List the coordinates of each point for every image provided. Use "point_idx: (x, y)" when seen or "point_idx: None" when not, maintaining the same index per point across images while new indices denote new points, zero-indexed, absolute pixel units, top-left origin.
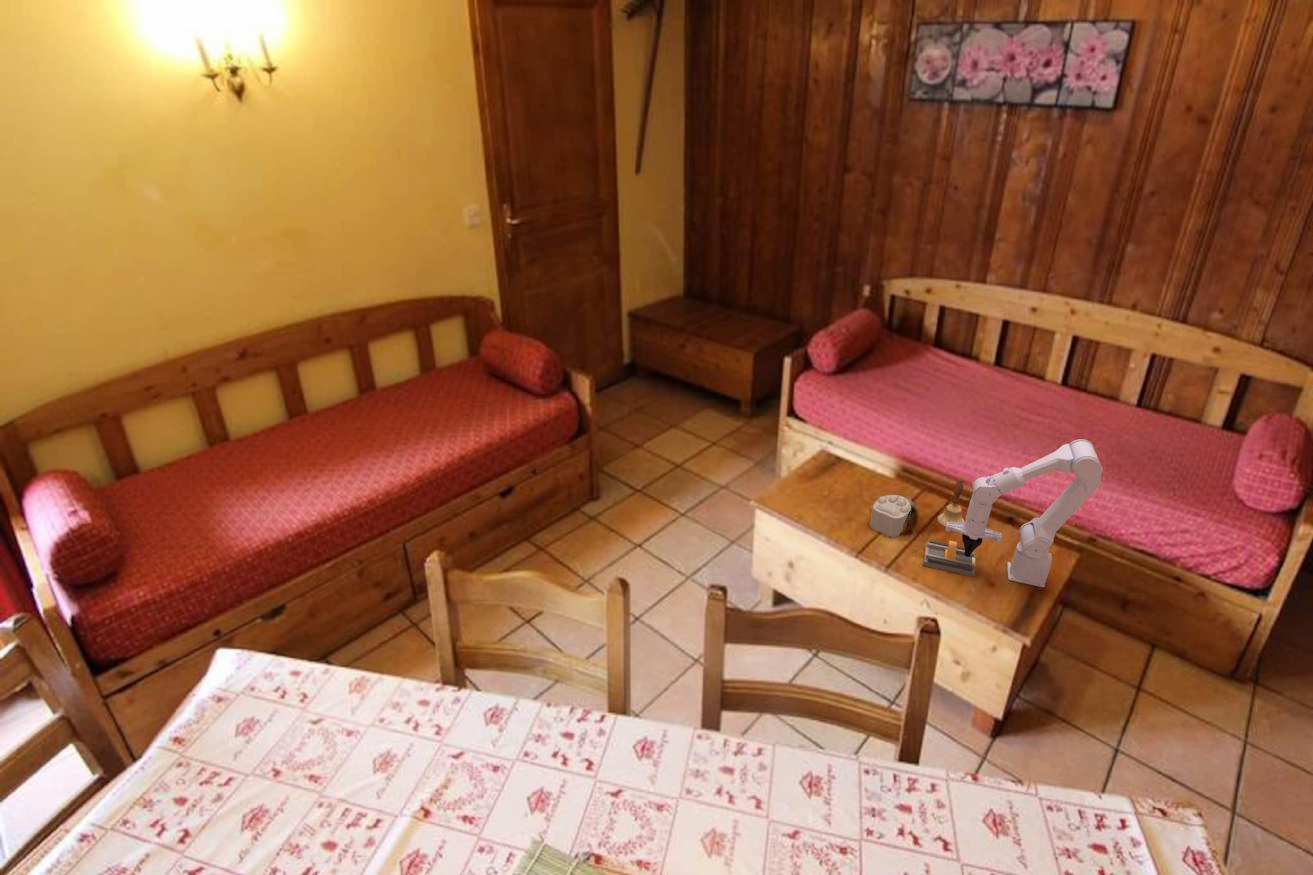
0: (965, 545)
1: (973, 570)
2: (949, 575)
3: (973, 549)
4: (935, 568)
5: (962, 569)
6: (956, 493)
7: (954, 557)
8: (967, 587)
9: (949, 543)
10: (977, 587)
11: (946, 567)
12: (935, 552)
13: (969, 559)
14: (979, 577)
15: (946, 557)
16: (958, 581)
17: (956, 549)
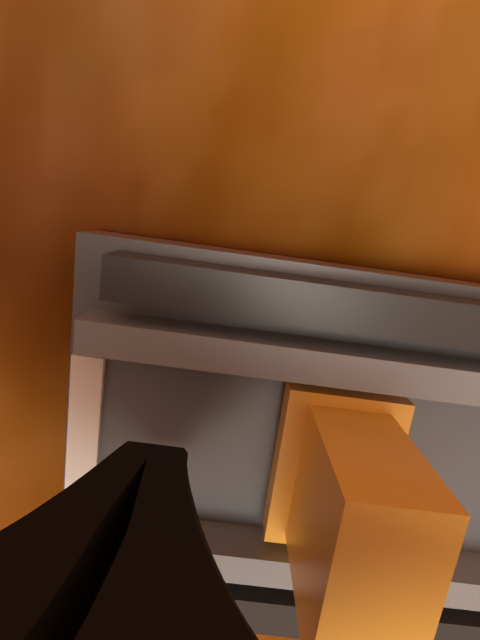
0: (204, 593)
1: (93, 278)
2: (349, 198)
3: (27, 524)
4: (475, 283)
5: (218, 264)
6: None
7: (298, 433)
8: (179, 19)
9: (435, 625)
10: (69, 48)
11: (391, 275)
12: (469, 497)
13: None
14: (42, 238)
15: (393, 415)
16: (267, 111)
17: (259, 571)
